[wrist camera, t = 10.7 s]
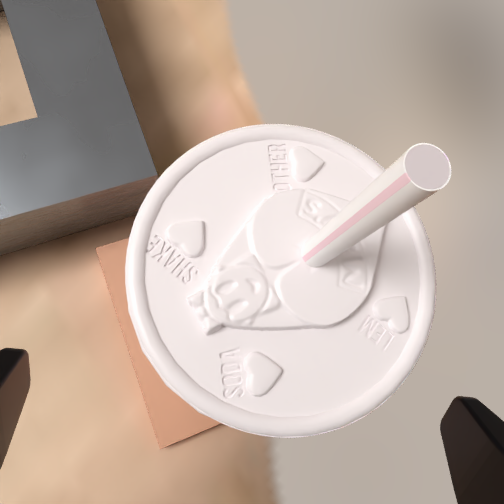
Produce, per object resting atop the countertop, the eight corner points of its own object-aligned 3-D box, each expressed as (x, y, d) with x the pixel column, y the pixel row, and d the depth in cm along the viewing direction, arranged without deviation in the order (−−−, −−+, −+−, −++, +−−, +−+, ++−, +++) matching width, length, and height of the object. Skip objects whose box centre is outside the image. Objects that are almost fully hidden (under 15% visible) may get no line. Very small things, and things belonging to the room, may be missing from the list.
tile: (347, 368, 19) (351, 368, 18) (160, 446, 17) (159, 449, 17) (277, 194, 20) (279, 190, 20) (97, 251, 18) (95, 248, 18)
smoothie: (339, 346, 19) (759, 313, 5) (199, 431, 17) (276, 704, 4) (262, 211, 19) (451, -123, 6) (122, 281, 18) (-53, 42, 4)
